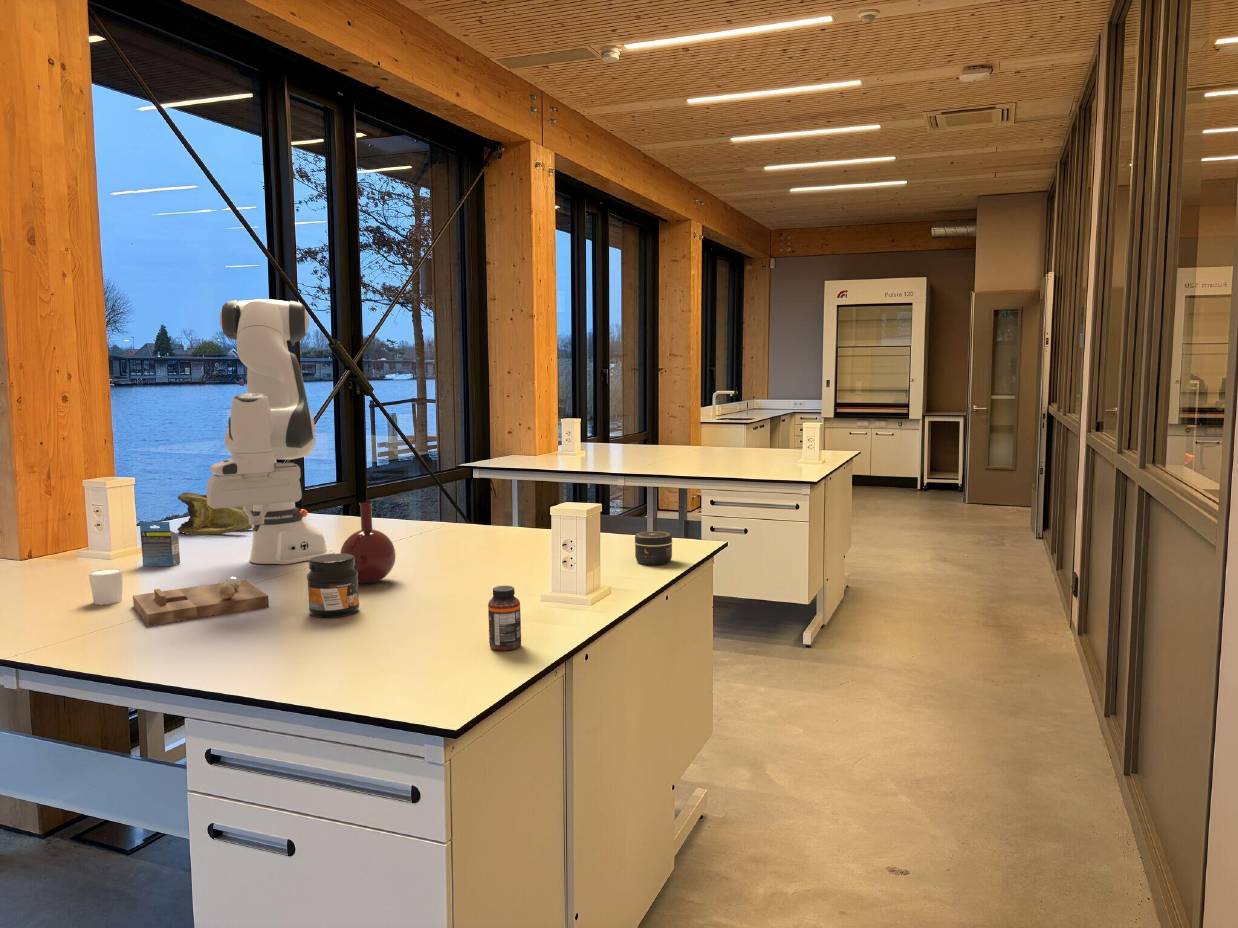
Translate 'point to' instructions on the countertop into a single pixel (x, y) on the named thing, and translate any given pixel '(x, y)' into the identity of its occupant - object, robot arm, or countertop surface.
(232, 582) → the steel ball
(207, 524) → the crocodile head
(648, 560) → the jar
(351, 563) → the supplement container
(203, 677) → the countertop surface
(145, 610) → the board
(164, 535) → the label tape cartridge
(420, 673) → the countertop surface
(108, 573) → the white cup
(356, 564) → the round-bottom flask
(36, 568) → the countertop surface
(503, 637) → the supplement bottle
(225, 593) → the cork ball
